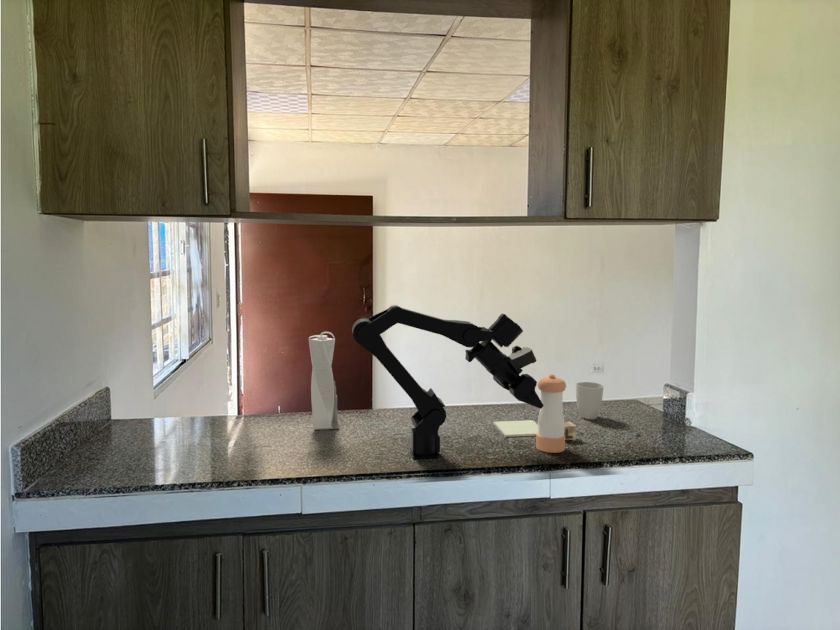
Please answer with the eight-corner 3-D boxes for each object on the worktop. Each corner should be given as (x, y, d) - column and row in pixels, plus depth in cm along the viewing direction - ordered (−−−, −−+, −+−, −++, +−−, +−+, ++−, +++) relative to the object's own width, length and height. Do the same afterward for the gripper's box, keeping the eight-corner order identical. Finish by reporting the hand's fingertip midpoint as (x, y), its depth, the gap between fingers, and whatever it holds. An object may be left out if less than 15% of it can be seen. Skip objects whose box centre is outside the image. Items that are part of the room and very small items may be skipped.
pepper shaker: (531, 444, 147) (533, 372, 145) (557, 442, 148) (559, 371, 146) (543, 453, 140) (544, 378, 138) (570, 451, 141) (572, 377, 139)
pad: (505, 436, 152) (505, 434, 152) (493, 423, 164) (493, 421, 164) (547, 435, 154) (547, 433, 154) (532, 422, 166) (532, 420, 166)
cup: (590, 412, 177) (591, 381, 176) (607, 419, 169) (609, 387, 168) (569, 414, 174) (570, 383, 173) (585, 422, 166) (587, 389, 165)
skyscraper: (339, 431, 156) (338, 332, 153) (310, 432, 155) (308, 332, 152) (337, 422, 165) (336, 327, 162) (309, 423, 163) (308, 328, 160)
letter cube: (561, 441, 149) (562, 426, 149) (555, 436, 153) (556, 422, 153) (576, 440, 150) (576, 426, 150) (569, 435, 154) (570, 421, 154)
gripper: (529, 343, 130) (572, 388, 133) (505, 332, 148) (544, 371, 151) (496, 377, 130) (540, 421, 133) (476, 362, 148) (515, 401, 151)
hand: (535, 402), depth 142 cm, fingers open, 9 cm apart
